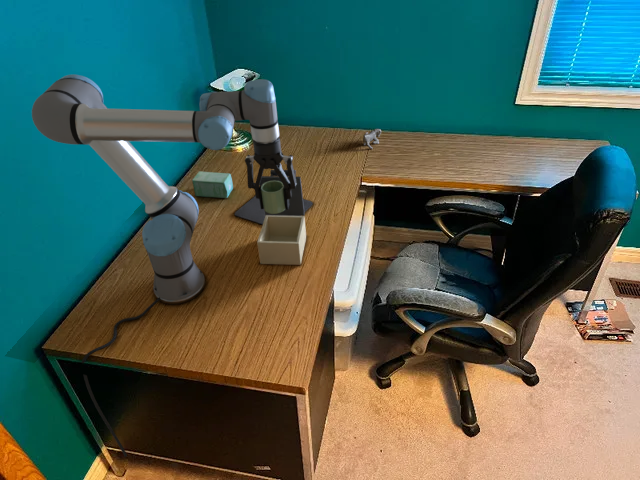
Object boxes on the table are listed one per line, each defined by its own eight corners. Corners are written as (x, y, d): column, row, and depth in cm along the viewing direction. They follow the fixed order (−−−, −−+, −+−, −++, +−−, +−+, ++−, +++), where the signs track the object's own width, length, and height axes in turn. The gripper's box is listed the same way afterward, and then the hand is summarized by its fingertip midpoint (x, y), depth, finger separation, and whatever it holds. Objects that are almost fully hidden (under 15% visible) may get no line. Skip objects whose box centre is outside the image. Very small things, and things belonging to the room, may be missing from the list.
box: (228, 198, 187) (224, 182, 182) (195, 196, 189) (191, 180, 185) (234, 188, 193) (231, 172, 188) (202, 187, 195) (198, 170, 190)
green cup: (282, 215, 144) (279, 193, 140) (260, 212, 146) (257, 191, 141) (289, 202, 149) (287, 181, 145) (268, 200, 151) (265, 179, 147)
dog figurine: (369, 151, 212) (369, 135, 208) (359, 147, 215) (359, 131, 211) (385, 140, 219) (386, 125, 215) (375, 137, 222) (375, 122, 218)
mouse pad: (314, 202, 182) (314, 202, 182) (284, 232, 168) (284, 231, 168) (264, 188, 191) (264, 187, 191) (232, 214, 178) (232, 214, 178)
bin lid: (300, 178, 149) (302, 163, 154) (258, 177, 150) (262, 163, 155) (304, 215, 160) (306, 200, 165) (265, 214, 161) (268, 200, 166)
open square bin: (300, 265, 154) (298, 243, 149) (260, 263, 156) (256, 242, 150) (306, 237, 166) (304, 216, 160) (268, 236, 167) (265, 215, 162)
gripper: (303, 131, 135) (308, 200, 149) (234, 131, 138) (246, 199, 152) (299, 144, 129) (305, 214, 144) (227, 144, 132) (240, 213, 146)
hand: (275, 206), depth 148 cm, fingers closed on green cup, 7 cm apart
